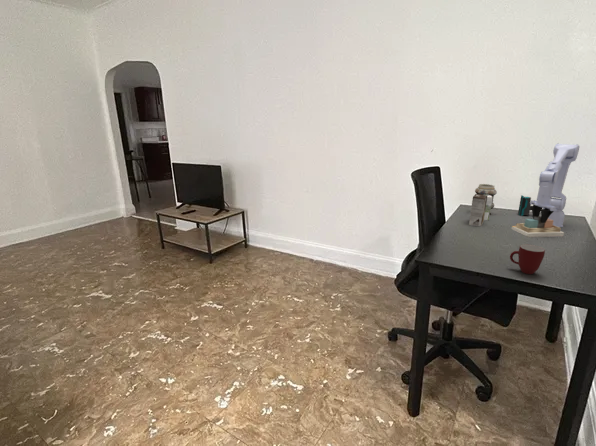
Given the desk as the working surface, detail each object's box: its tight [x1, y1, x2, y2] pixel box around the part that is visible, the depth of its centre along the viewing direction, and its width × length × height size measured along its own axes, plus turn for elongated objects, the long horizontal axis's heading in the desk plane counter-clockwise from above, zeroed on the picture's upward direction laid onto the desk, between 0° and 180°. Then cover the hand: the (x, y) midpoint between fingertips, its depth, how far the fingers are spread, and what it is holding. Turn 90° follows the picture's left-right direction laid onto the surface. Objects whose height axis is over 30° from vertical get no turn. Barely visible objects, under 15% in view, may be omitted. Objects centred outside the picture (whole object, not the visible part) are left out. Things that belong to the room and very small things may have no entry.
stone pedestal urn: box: [474, 183, 497, 216], centre depth 211 cm, size 12×12×18 cm
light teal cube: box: [524, 218, 538, 228], centre depth 175 cm, size 4×4×4 cm
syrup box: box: [484, 195, 494, 221], centre depth 199 cm, size 6×6×14 cm
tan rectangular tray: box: [515, 215, 562, 233], centre depth 175 cm, size 17×9×6 cm, turn 94°
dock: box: [511, 225, 565, 238], centre depth 177 cm, size 19×12×2 cm, turn 94°
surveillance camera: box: [517, 195, 532, 217], centre depth 206 cm, size 6×12×10 cm
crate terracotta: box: [544, 219, 553, 228], centre depth 176 cm, size 4×4×4 cm
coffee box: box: [468, 193, 488, 227], centre depth 190 cm, size 9×6×16 cm
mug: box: [509, 244, 546, 275], centre depth 131 cm, size 11×8×10 cm
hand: (539, 221), depth 175 cm, fingers open, 5 cm apart
